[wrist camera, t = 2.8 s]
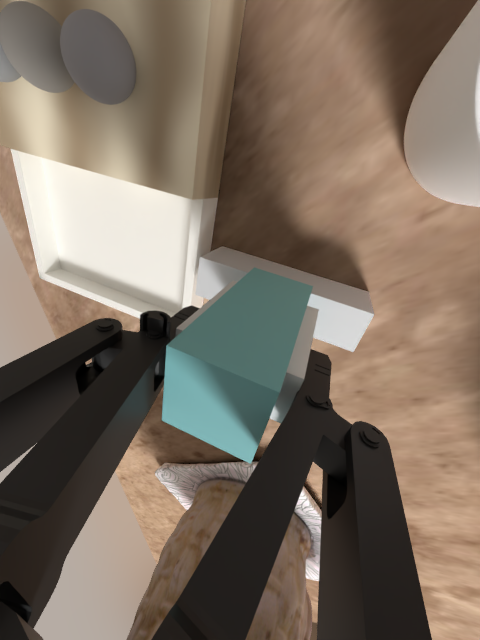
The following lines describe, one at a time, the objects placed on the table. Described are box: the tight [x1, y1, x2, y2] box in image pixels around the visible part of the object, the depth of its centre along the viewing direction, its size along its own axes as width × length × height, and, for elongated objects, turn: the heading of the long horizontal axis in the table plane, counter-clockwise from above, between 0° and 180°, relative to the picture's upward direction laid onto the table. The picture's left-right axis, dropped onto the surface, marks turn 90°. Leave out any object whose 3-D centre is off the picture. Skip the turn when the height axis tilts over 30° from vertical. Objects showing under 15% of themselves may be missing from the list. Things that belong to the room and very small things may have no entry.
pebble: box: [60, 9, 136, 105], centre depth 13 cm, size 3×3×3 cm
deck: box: [0, 0, 246, 200], centre depth 16 cm, size 18×14×4 cm
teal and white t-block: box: [162, 246, 374, 464], centre depth 15 cm, size 12×4×14 cm, turn 78°
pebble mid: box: [0, 1, 75, 93], centre depth 14 cm, size 3×3×3 cm
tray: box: [11, 149, 218, 319], centre depth 23 cm, size 18×12×2 cm, turn 78°
